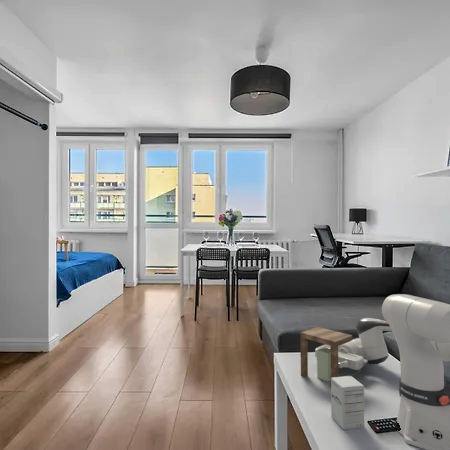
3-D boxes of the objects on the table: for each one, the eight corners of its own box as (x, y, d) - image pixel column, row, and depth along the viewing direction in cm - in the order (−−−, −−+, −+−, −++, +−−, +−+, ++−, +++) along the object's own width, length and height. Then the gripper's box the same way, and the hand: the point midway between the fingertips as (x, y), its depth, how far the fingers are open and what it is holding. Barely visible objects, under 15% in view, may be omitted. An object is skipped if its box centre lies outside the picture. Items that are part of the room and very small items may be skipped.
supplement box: (330, 417, 112) (330, 377, 112) (352, 414, 113) (351, 375, 113) (342, 430, 104) (342, 387, 105) (365, 427, 106) (364, 385, 106)
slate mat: (361, 371, 147) (361, 370, 147) (348, 378, 140) (348, 377, 140) (335, 363, 156) (335, 362, 156) (322, 369, 150) (322, 368, 150)
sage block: (335, 378, 141) (335, 350, 141) (328, 381, 138) (327, 353, 138) (324, 374, 145) (324, 347, 145) (317, 377, 141) (317, 349, 142)
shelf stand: (352, 379, 139) (352, 335, 139) (335, 389, 131) (335, 341, 131) (318, 367, 151) (317, 326, 151) (300, 375, 143) (300, 332, 144)
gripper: (369, 368, 143) (351, 378, 134) (326, 355, 159) (307, 362, 150) (369, 353, 143) (351, 361, 134) (326, 341, 159) (307, 348, 150)
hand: (328, 362), depth 142 cm, fingers open, 8 cm apart
